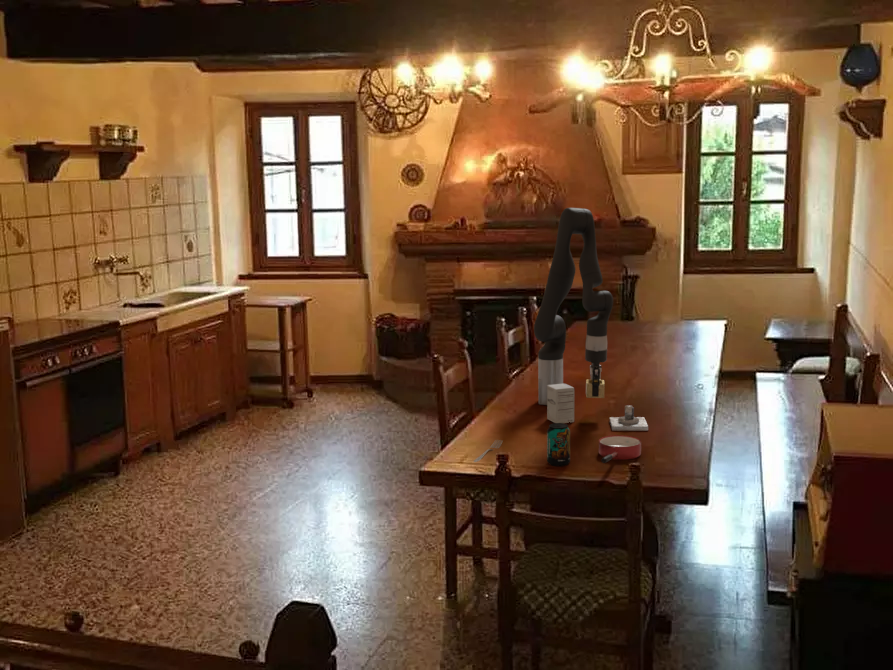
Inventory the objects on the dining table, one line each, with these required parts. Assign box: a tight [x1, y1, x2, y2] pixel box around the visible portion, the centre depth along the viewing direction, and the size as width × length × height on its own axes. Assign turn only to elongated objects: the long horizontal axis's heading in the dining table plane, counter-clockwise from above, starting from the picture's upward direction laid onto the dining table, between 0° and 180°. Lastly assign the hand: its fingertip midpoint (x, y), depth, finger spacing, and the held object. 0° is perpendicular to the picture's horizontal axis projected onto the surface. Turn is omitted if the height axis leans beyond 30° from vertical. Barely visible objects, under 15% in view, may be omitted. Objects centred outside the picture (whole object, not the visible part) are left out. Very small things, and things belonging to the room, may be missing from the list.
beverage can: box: [546, 422, 571, 467], centre depth 311 cm, size 7×7×12 cm
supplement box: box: [546, 382, 575, 424], centre depth 360 cm, size 7×7×13 cm
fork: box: [473, 439, 504, 463], centre depth 324 cm, size 3×24×2 cm, turn 156°
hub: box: [585, 379, 606, 399], centre depth 361 cm, size 6×6×5 cm
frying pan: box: [598, 434, 642, 464], centre depth 311 cm, size 32×13×6 cm, turn 166°
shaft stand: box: [609, 404, 649, 432], centre depth 352 cm, size 12×12×7 cm
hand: (594, 393), depth 362 cm, fingers closed on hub, 6 cm apart
